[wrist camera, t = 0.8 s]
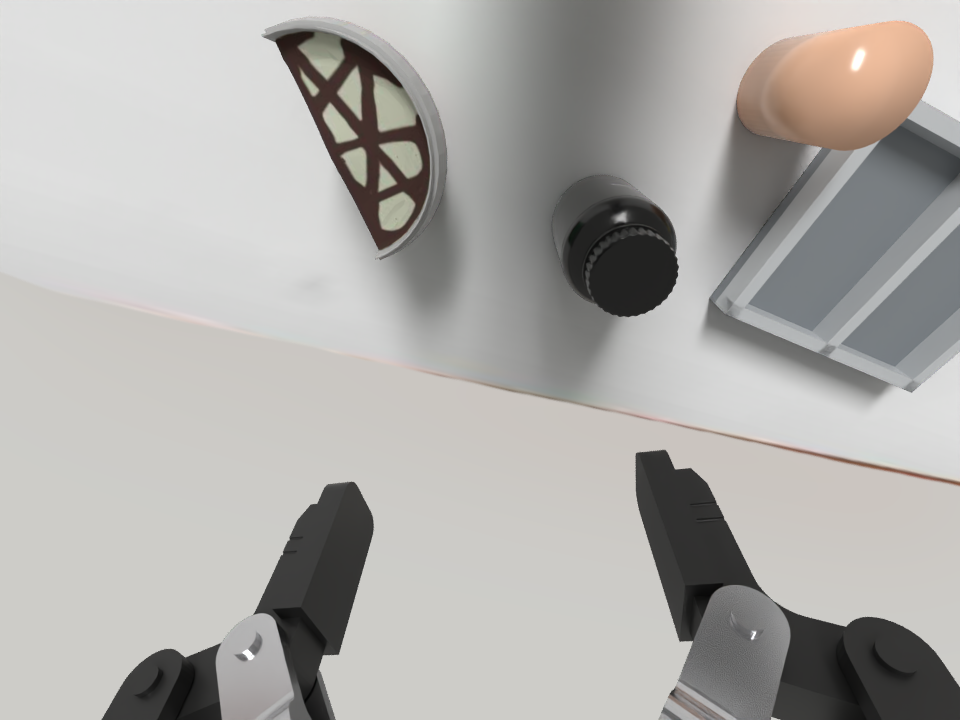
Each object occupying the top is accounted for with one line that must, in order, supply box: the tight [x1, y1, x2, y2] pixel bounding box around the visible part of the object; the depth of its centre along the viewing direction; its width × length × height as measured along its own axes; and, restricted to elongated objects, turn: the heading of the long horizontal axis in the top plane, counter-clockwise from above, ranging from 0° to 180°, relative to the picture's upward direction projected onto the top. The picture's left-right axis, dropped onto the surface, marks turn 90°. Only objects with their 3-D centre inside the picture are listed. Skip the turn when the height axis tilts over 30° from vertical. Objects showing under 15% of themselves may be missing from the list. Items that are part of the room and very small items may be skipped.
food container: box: [262, 17, 447, 260], centre depth 26 cm, size 12×6×10 cm, turn 20°
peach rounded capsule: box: [737, 21, 933, 151], centre depth 25 cm, size 6×6×8 cm
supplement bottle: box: [552, 175, 679, 317], centre depth 28 cm, size 7×7×12 cm
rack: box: [710, 100, 960, 393], centre depth 33 cm, size 16×19×3 cm
